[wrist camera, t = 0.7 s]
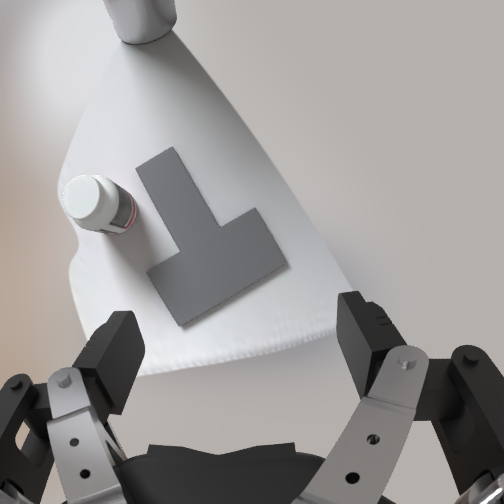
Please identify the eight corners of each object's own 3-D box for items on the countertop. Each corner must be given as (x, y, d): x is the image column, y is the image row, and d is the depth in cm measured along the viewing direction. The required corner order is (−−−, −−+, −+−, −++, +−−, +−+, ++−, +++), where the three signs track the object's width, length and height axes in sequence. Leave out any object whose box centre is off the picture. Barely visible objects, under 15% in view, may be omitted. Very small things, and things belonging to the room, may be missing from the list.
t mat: (105, 190, 32) (103, 189, 32) (207, 130, 34) (206, 127, 33) (180, 325, 33) (179, 326, 32) (286, 262, 34) (287, 262, 34)
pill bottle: (124, 180, 33) (92, 155, 23) (145, 217, 33) (117, 203, 23) (89, 206, 32) (48, 191, 23) (109, 244, 32) (70, 240, 23)
